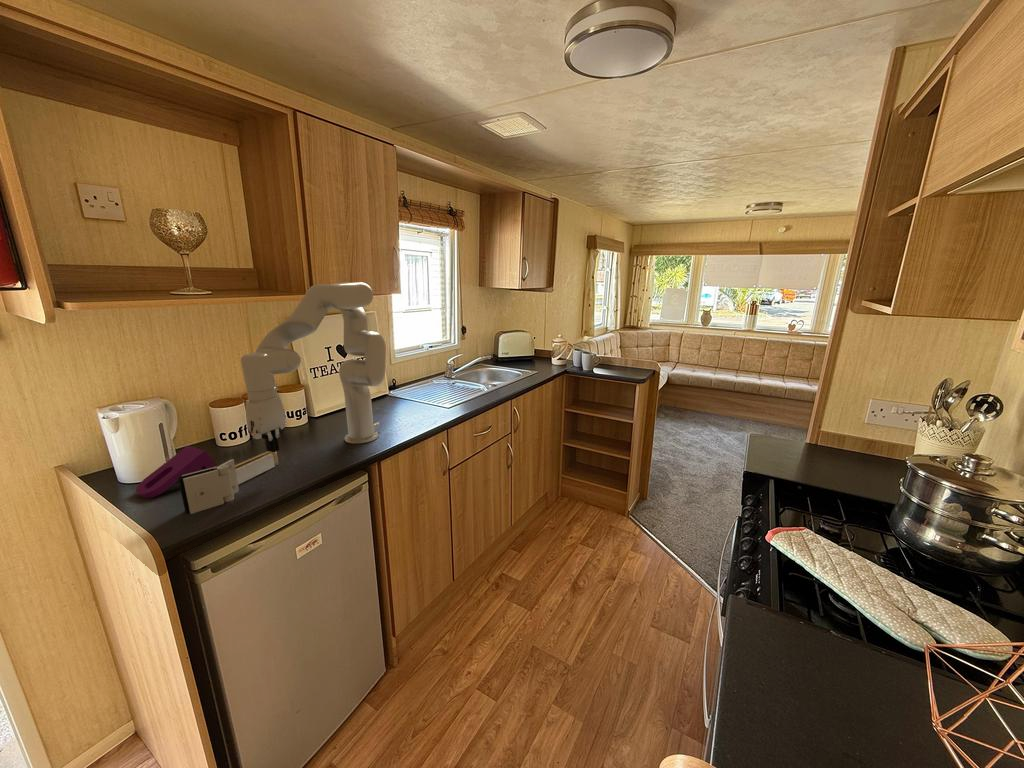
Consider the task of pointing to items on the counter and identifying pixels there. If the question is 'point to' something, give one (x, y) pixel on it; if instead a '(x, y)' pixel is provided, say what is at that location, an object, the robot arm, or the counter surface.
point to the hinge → (208, 487)
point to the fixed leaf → (258, 458)
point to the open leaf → (254, 468)
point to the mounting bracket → (174, 471)
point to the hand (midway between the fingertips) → (273, 450)
